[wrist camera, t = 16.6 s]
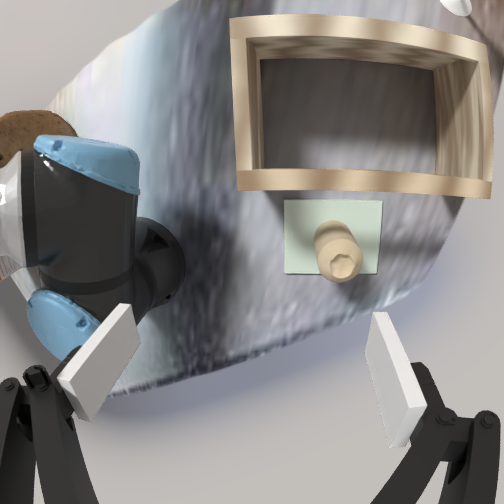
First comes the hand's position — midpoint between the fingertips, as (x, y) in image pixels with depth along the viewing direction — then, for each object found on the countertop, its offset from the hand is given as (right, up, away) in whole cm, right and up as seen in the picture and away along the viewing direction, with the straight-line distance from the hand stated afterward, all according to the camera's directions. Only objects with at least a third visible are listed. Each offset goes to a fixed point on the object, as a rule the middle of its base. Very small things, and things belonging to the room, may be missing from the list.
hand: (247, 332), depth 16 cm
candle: (+12, +6, +28) cm, 31 cm away
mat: (+12, +6, +28) cm, 31 cm away
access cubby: (+14, +23, +21) cm, 34 cm away
